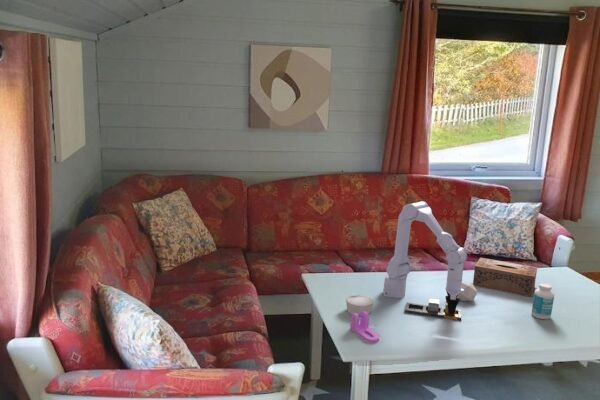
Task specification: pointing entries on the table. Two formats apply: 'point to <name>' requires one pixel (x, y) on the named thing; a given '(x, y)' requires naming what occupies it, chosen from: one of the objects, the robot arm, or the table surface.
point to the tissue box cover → (505, 276)
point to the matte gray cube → (433, 305)
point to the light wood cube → (447, 310)
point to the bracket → (363, 327)
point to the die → (467, 292)
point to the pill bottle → (543, 301)
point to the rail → (423, 310)
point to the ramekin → (359, 304)
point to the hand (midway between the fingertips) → (451, 309)
